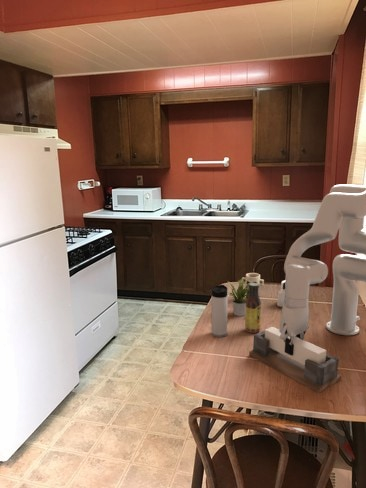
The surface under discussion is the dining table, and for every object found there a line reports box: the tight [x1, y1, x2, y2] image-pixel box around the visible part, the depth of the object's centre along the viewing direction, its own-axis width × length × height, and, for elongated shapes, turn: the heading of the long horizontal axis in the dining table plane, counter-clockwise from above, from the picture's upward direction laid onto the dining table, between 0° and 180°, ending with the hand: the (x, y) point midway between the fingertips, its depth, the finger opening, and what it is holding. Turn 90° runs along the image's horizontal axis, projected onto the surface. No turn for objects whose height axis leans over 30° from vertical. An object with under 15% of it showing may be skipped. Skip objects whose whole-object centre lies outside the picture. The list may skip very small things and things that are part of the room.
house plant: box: [227, 279, 253, 317], centre depth 176 cm, size 14×14×16 cm
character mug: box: [241, 272, 265, 298], centre depth 194 cm, size 11×7×13 cm, turn 68°
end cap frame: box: [248, 330, 342, 394], centre depth 134 cm, size 12×29×8 cm, turn 37°
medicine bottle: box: [277, 279, 286, 308], centre depth 187 cm, size 7×7×12 cm
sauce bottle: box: [244, 283, 262, 334], centre depth 160 cm, size 7×6×20 cm
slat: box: [264, 326, 327, 365], centre depth 133 cm, size 22×4×6 cm, turn 37°
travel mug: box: [210, 284, 229, 338], centre depth 157 cm, size 6×7×20 cm
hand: (293, 351), depth 133 cm, fingers closed on slat, 3 cm apart
